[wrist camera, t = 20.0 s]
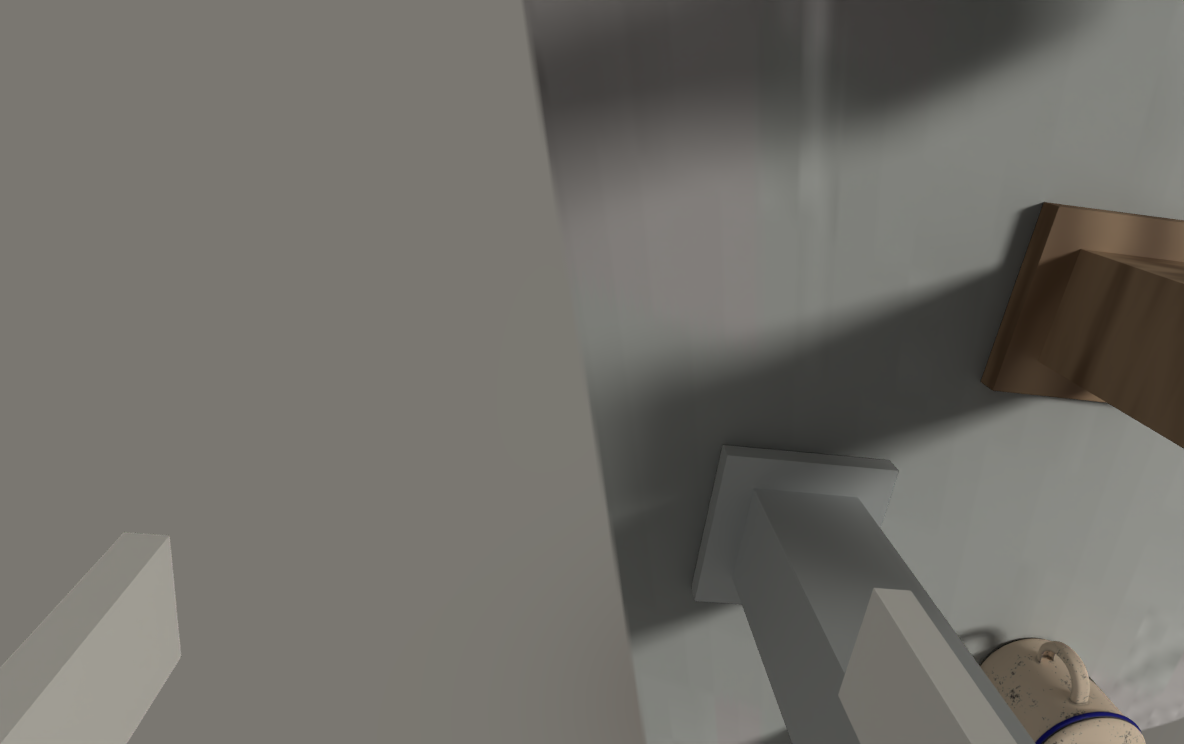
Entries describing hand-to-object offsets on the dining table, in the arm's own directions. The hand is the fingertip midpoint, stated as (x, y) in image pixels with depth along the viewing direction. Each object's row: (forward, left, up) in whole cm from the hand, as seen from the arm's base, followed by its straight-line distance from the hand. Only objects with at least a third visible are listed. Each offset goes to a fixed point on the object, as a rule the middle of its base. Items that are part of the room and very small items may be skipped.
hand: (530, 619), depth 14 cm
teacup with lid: (-9, +55, -37) cm, 67 cm away
